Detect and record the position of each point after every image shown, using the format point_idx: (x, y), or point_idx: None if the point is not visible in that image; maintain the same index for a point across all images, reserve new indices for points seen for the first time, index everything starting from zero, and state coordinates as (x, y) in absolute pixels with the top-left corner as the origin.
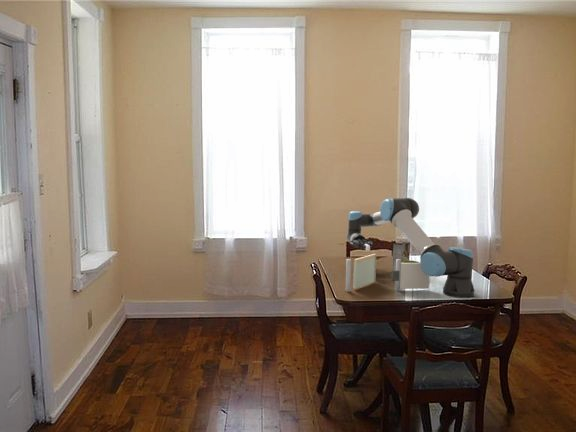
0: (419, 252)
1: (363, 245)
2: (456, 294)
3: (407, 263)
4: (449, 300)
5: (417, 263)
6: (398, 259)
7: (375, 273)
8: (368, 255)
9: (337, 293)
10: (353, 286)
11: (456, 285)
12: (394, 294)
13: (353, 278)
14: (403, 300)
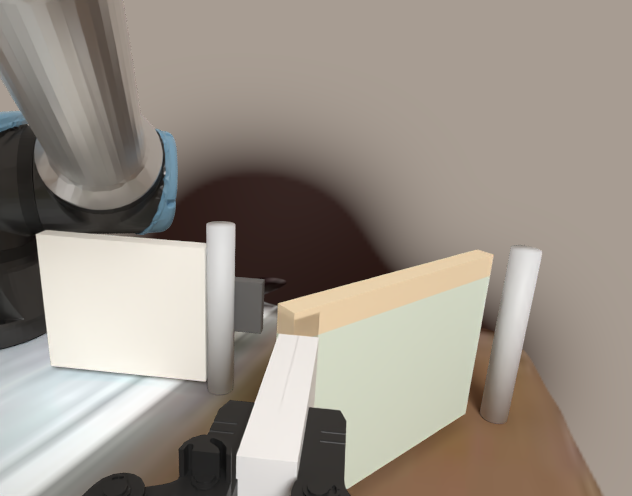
0: (139, 158)
1: (334, 447)
2: None
3: (171, 241)
4: None
5: (115, 236)
6: (222, 224)
7: None
8: (371, 287)
9: (544, 396)
10: (464, 403)
11: None
12: (271, 353)
13: (473, 362)
14: (277, 311)
